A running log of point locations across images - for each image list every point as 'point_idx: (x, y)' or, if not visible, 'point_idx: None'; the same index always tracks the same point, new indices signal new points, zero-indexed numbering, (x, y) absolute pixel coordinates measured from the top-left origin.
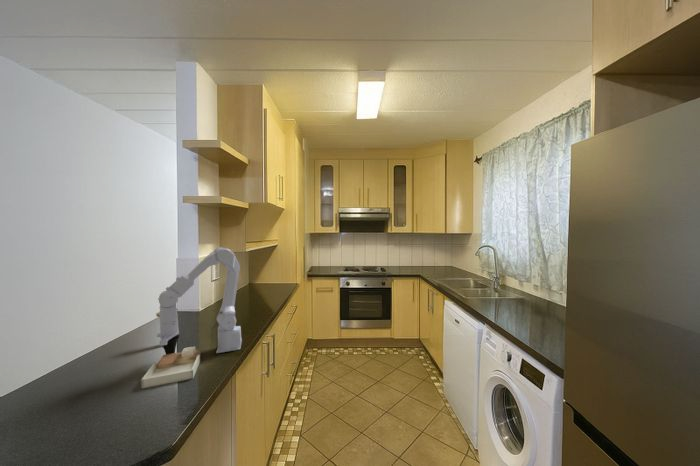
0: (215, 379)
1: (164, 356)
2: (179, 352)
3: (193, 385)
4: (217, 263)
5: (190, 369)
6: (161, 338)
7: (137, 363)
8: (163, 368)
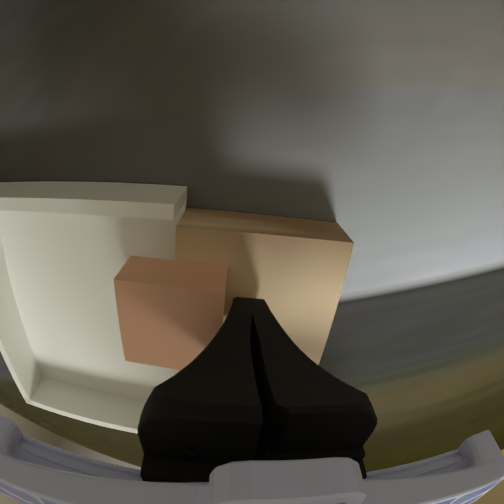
0: (36, 417)
1: (174, 306)
2: (321, 348)
3: (5, 370)
4: None
5: (105, 378)
6: (22, 490)
7: (407, 44)
8: (172, 250)
